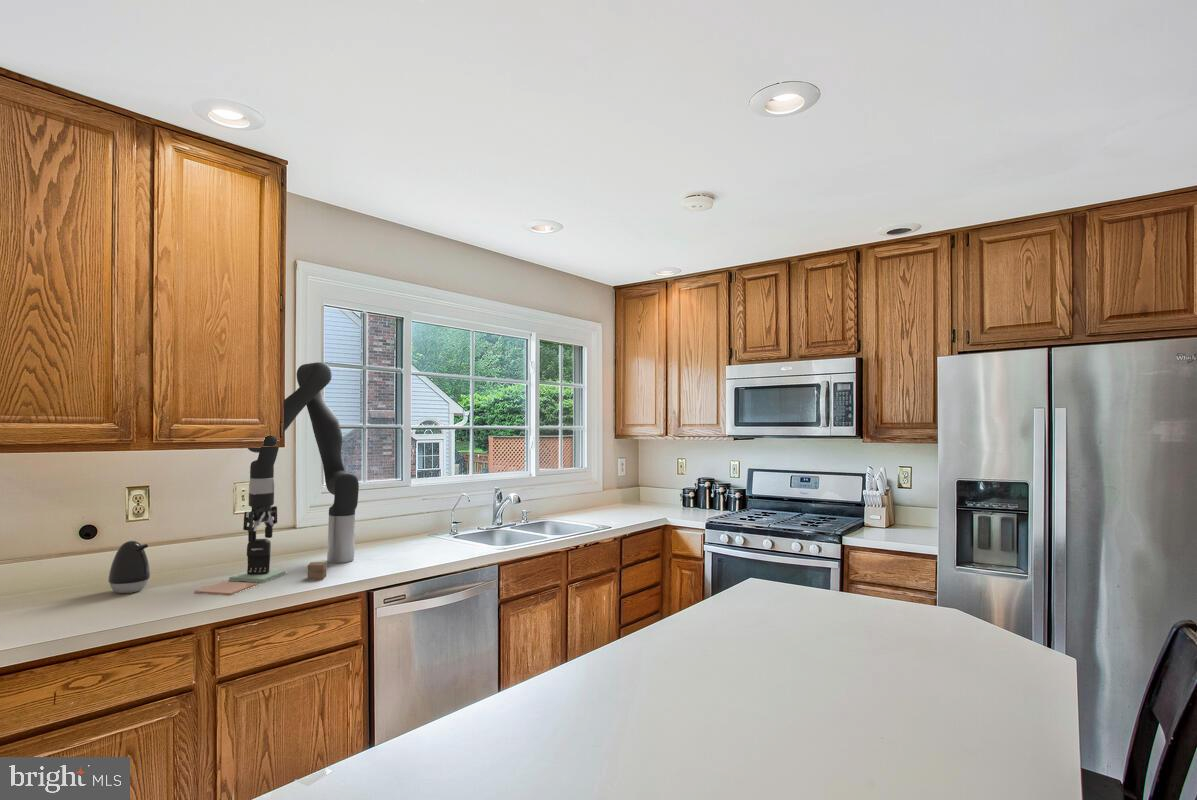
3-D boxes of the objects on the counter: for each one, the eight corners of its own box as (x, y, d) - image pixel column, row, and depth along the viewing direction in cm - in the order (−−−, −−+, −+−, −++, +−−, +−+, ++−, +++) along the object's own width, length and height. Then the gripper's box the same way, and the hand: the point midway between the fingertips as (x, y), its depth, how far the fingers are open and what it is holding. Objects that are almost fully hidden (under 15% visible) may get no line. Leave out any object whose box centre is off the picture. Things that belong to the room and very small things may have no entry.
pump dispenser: (132, 596, 188) (134, 544, 188) (98, 595, 189) (101, 543, 189) (158, 587, 198) (160, 538, 199) (126, 586, 199) (128, 537, 199)
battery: (244, 575, 210) (245, 540, 211) (247, 573, 214) (249, 538, 214) (267, 574, 212) (269, 540, 212) (270, 572, 216) (272, 538, 216)
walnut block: (310, 576, 216) (310, 562, 216) (326, 576, 217) (326, 561, 217) (307, 580, 211) (307, 565, 211) (323, 580, 212) (323, 564, 212)
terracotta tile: (223, 585, 205) (223, 581, 205) (257, 587, 203) (257, 583, 203) (194, 594, 193) (194, 590, 193) (230, 597, 191) (230, 593, 191)
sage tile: (253, 572, 220) (253, 568, 220) (285, 574, 218) (286, 570, 218) (229, 580, 208) (229, 577, 208) (263, 582, 206) (263, 579, 206)
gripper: (264, 488, 221) (263, 535, 221) (236, 493, 207) (235, 544, 207) (284, 489, 221) (283, 536, 220) (258, 494, 206) (257, 544, 206)
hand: (260, 540), depth 214 cm, fingers open, 8 cm apart
